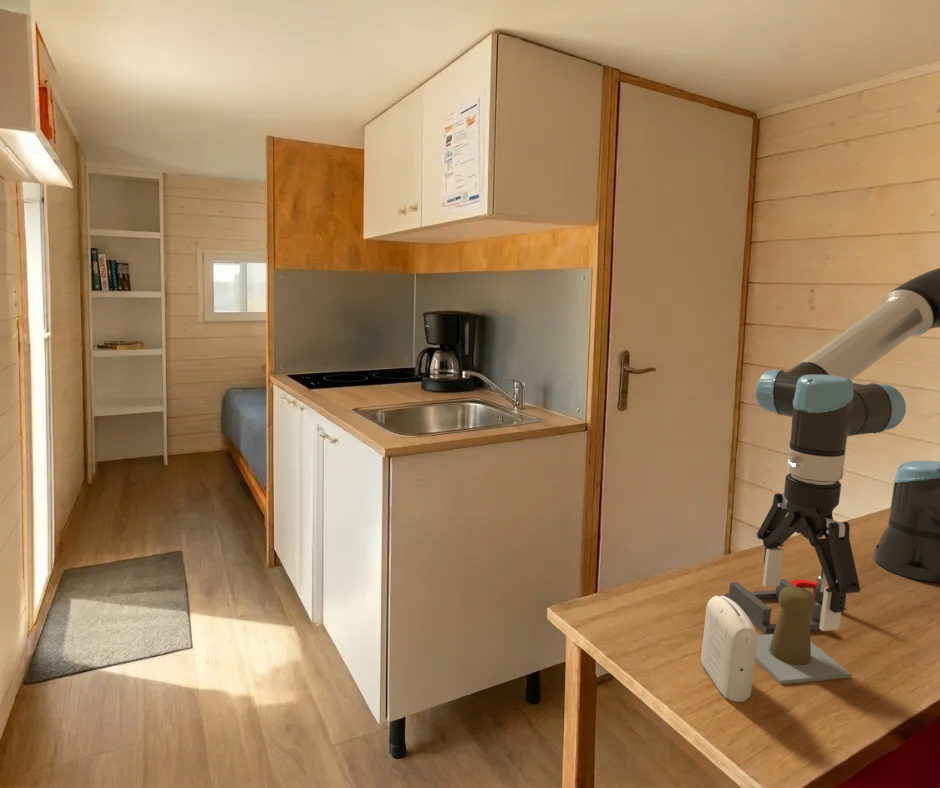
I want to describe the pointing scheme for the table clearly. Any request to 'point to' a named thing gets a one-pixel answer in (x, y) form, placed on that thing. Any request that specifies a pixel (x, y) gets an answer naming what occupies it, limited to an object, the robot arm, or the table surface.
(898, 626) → the table surface
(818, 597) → the tow hook
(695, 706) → the table surface
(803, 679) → the mat
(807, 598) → the cork
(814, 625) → the grey square frame
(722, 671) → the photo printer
